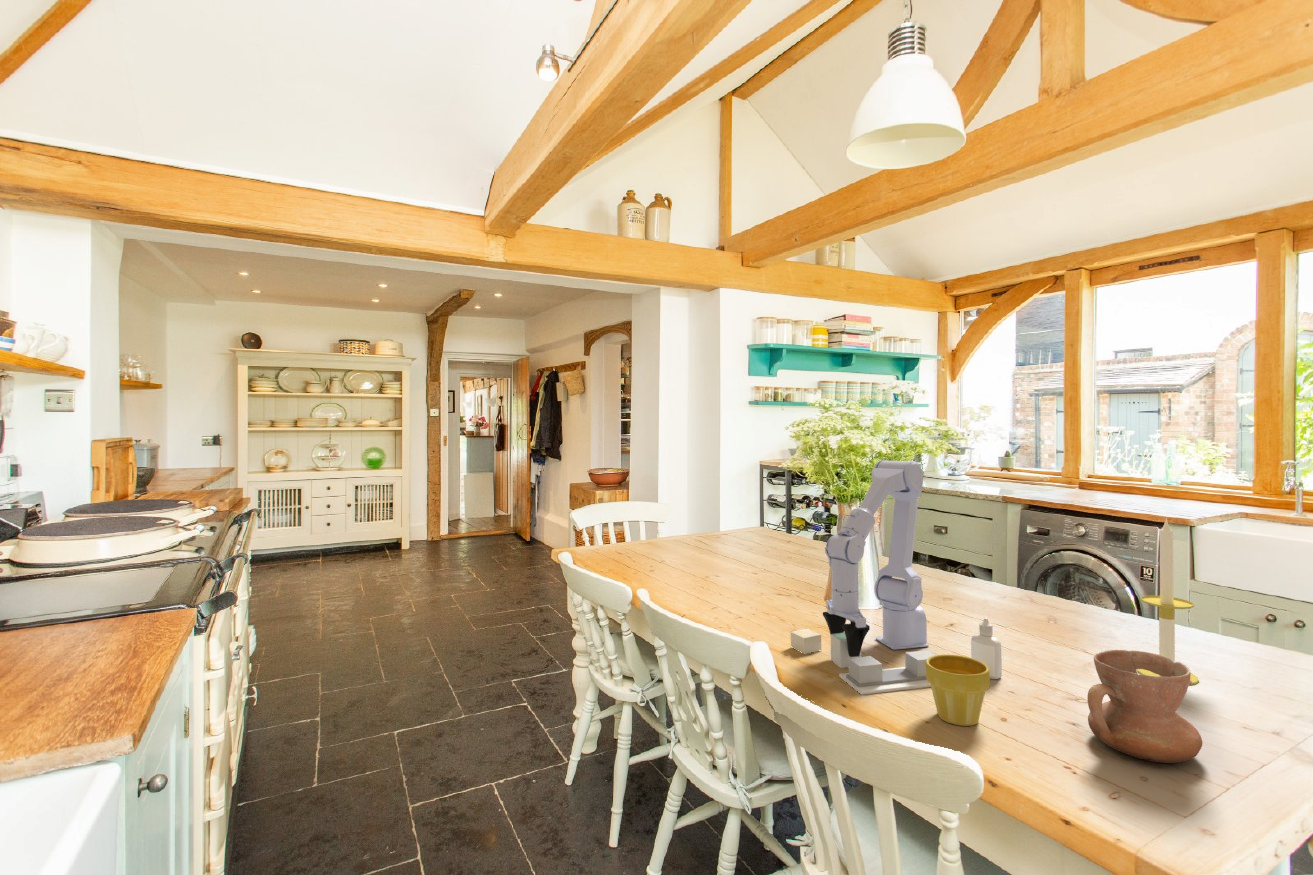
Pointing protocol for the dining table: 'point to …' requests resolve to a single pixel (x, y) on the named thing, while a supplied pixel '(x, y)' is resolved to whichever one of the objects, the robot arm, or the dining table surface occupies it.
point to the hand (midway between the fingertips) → (845, 649)
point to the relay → (806, 640)
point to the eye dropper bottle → (987, 649)
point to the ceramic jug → (1142, 706)
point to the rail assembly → (887, 674)
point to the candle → (1166, 601)
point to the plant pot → (958, 687)
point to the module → (840, 650)
